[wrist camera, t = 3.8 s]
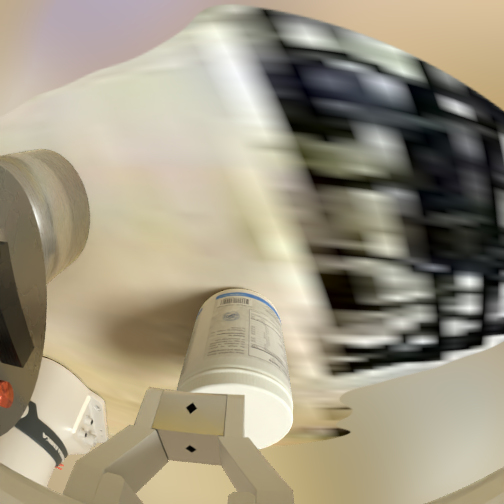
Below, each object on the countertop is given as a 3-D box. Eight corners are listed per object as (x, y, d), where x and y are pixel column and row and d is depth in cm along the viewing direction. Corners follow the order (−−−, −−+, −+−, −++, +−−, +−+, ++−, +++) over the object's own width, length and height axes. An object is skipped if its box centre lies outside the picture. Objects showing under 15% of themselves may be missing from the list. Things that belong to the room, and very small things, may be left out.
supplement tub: (239, 364, 36) (234, 463, 22) (180, 320, 34) (146, 418, 20) (298, 320, 34) (320, 422, 20) (238, 266, 31) (228, 363, 18)
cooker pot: (102, 315, 34) (62, 372, 24) (17, 296, 33) (-26, 336, 23) (92, 143, 26) (24, 152, 16) (0, 151, 26) (-62, 165, 16)
